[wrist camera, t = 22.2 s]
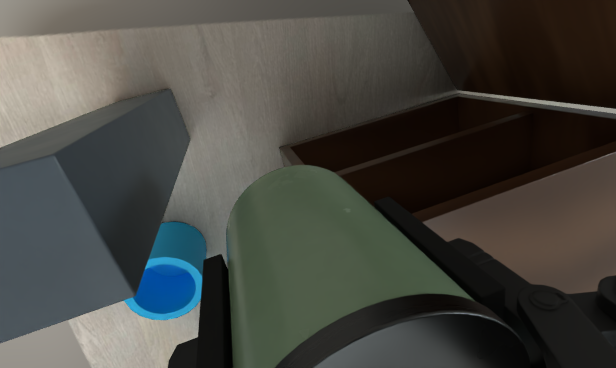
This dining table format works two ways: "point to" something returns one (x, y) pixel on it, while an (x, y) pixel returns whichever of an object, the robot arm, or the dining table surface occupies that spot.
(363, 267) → the tin
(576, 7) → the door
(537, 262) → the cupboard
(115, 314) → the dining table surface
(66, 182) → the stand
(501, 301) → the robot arm
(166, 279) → the mug
